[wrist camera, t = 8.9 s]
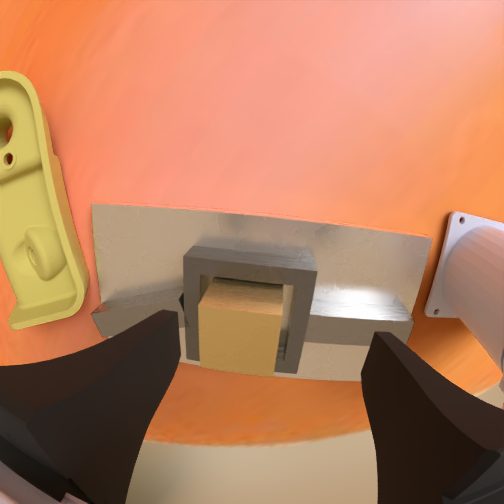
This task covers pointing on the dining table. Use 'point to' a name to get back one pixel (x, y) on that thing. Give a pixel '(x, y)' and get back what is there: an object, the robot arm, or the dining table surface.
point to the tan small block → (240, 326)
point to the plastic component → (35, 213)
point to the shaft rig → (261, 277)
